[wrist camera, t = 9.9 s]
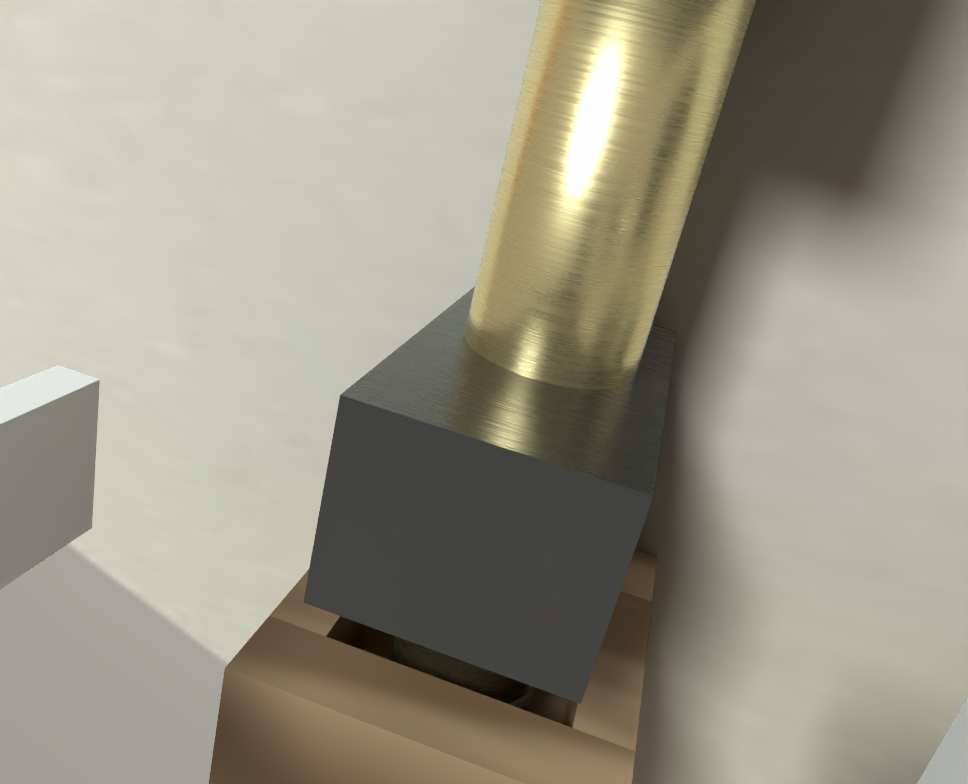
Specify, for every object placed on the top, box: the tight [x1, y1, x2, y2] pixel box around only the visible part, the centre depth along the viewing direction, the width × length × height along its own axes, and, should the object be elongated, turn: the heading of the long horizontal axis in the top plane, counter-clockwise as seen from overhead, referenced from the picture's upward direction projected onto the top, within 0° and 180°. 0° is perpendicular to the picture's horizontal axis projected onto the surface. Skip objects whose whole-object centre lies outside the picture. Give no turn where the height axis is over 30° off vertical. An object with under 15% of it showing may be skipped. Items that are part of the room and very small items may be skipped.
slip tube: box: [303, 0, 756, 711], centre depth 17 cm, size 20×5×10 cm, turn 167°
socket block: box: [209, 550, 657, 784], centre depth 21 cm, size 4×8×10 cm, turn 77°
